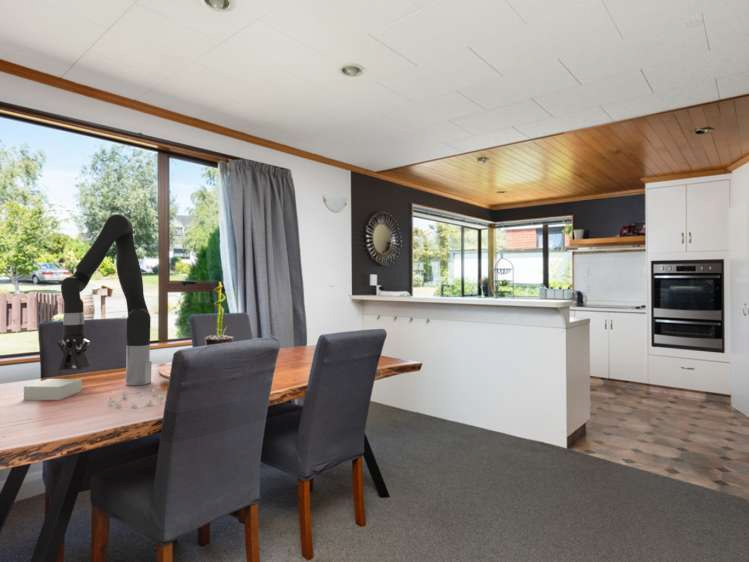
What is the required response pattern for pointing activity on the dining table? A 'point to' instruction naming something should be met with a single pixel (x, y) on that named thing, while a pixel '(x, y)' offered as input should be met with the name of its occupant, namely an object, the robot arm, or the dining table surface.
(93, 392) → the dining table surface
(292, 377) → the dining table surface
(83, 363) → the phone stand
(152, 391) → the game piece set
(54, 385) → the cream block
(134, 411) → the dining table surface
